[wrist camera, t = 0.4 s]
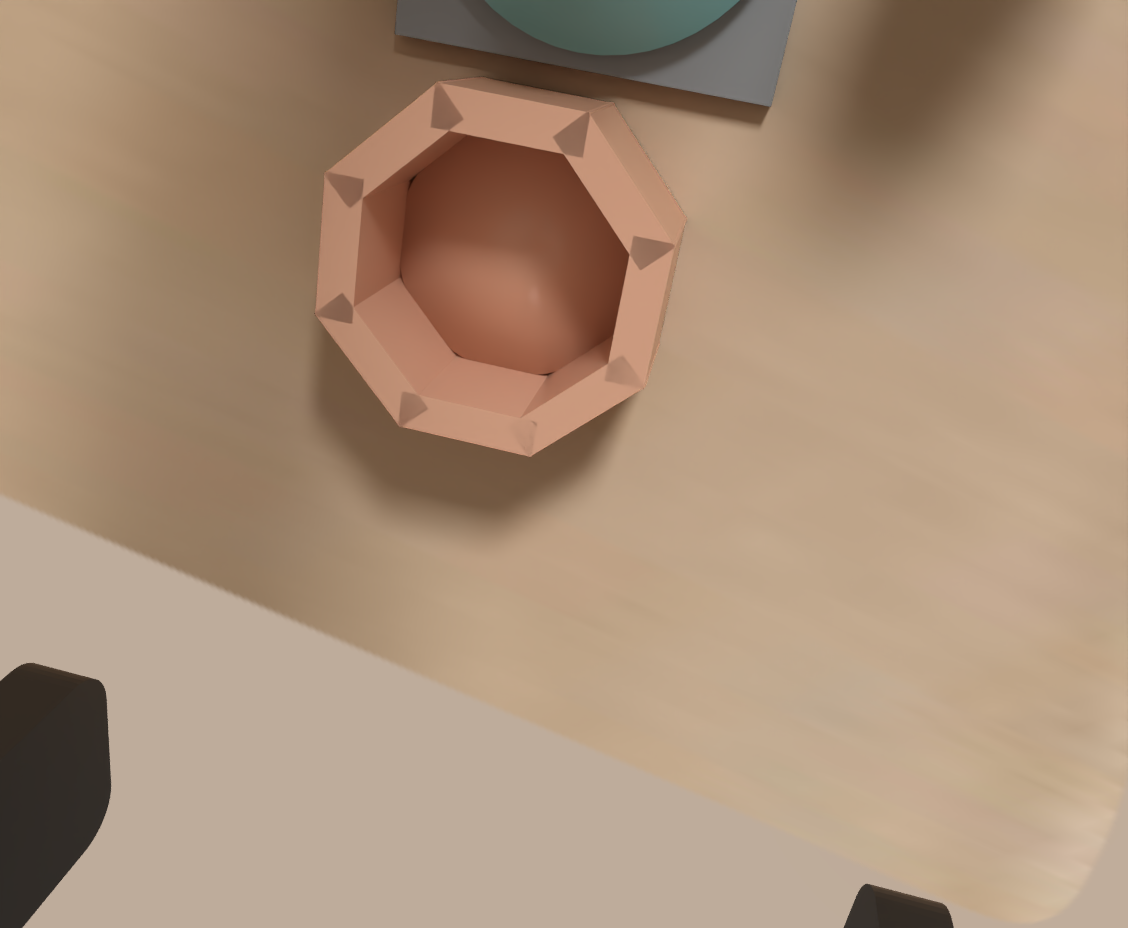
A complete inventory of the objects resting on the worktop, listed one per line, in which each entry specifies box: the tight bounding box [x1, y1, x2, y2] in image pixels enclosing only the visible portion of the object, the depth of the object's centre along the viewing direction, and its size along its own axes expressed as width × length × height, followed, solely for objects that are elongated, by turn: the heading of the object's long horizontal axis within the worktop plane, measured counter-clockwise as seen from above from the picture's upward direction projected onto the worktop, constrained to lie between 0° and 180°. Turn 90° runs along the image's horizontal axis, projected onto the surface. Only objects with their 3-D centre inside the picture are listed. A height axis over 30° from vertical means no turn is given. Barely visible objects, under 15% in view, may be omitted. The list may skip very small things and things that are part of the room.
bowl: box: [314, 76, 687, 457], centre depth 31 cm, size 10×10×5 cm
